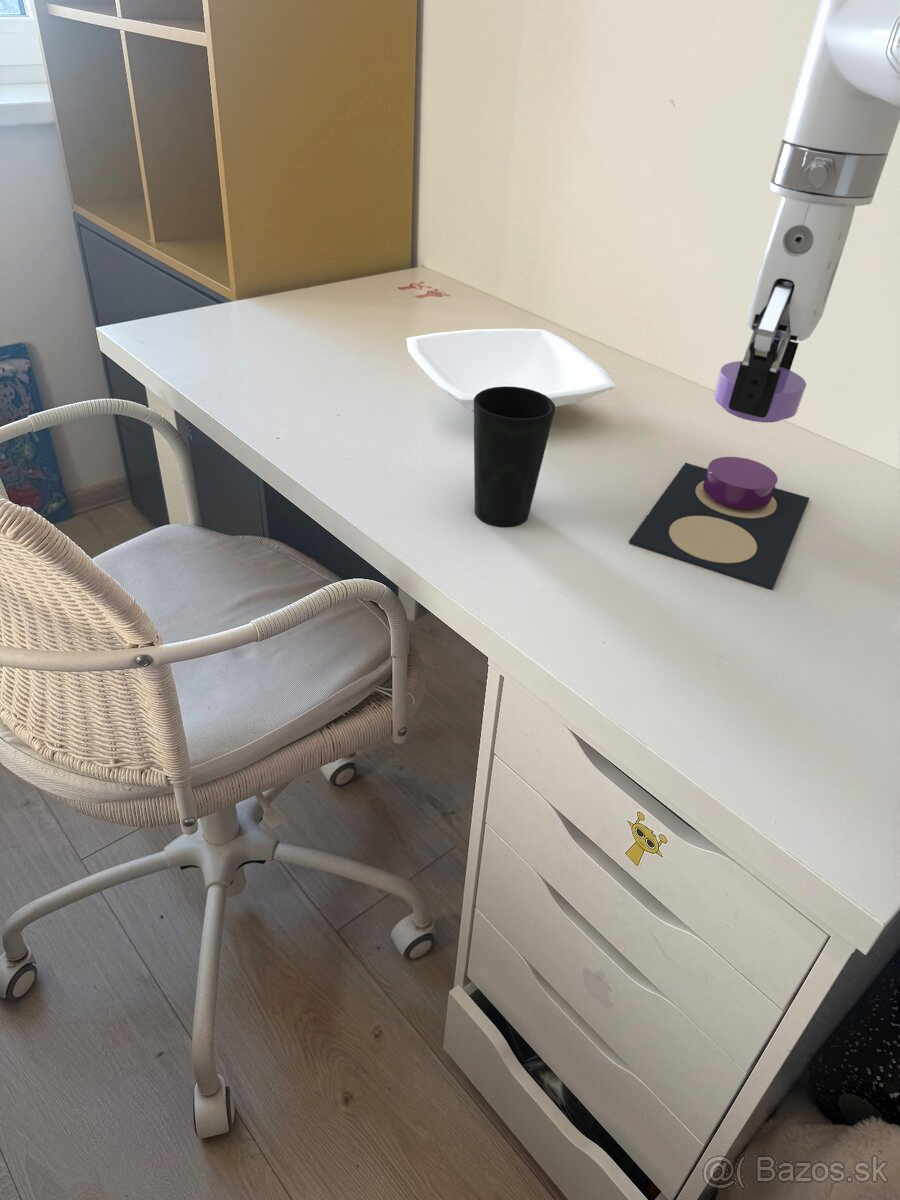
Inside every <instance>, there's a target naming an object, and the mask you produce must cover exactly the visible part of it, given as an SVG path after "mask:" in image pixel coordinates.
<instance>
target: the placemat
mask: <svg viewBox="0 0 900 1200" xmlns="http://www.w3.org/2000/svg"><path fill="white" fill-rule="evenodd" d="M707 469H708V468H707V467H702V466H699V465H695V464H691V463H688V462H685V463H684V464H683V465H682V467H681V468H680V469H679V471H678V472H677V473H676V475H675V477H674V478H673V479H672V480H671V481H670V483H669V484H668V486H667V487H666V489H665V490H664V492H662V494H661V496H659V498H658V500H657V501H656V503H655V504H654V505H653V506H652V508H651V510H650V511H649V512H648V513H647V515H646V517H644V519H643V520H642V522H641V523H640V525H639V526H638V528H637V529H636V530H635V532H634V533H633V534H632V536H631V537H630V539H629V540H628V544H629V545H633V546H635V547H639V548H643V549H645V550H648V551H651V552H654V553H658V554H660V555H664V556H667V557H670V558H673V559H676V560H679V561H683V562H685V563H689V564H692V565H694V566H698V567H700V568H703V569H707V570H710V571H713V572H716V573H719V574H722V575H725V576H729V577H732V578H734V579H738V580H741V581H744V582H747V583H750V584H753V585H756V586H759V587H762V588H765V589H769V590H772V591H773V590H774V587H775V584H776V582H777V580H778V578H779V575H780V573H781V570H782V568H783V565H784V563H785V560H786V557H787V556H788V553H789V551H790V548H791V545H792V543H793V540H794V539H795V536H796V532H797V530H798V528H799V525H800V523H801V520H802V518H803V515H804V513H805V510H806V508H807V506H808V503H809V501H810V497H808V496H805V495H801V494H797V493H794V492H790V491H788V490H783V489H780V488H777V487H775V490H774V493H773V496H772V499H771V501H770V503H769V504H768V505H766V506H764V507H761V508H755V509H750V510H740V509H734V508H730V507H727V506H724V505H722V504H720V503H718V502H716V501H715V500H714V499H713V498H712V497H710V496H709V495H708V494H707V493H706V492H705V490H704V488H703V483H704V479H705V476H706V472H707Z"/></svg>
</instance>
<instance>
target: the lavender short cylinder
mask: <svg viewBox="0 0 900 1200" xmlns="http://www.w3.org/2000/svg"><path fill="white" fill-rule="evenodd" d="M741 362H743V360H739V361H731V362H728V363H726V364H723V365H722V366H721V367H720V371H719V374H718V377H717V382H716V384H715V388H714V392H713V399H714V401H715V402H716V403H717V404H718V405H719V406H720V407H721V408H722V409H723V410H725V412H727V413H729V414H731V415H732V416H734V417H737V418H740V419H742V420H746V421H750V422H755V423H767V424H769V423H777V422H780V421H782V420H788V419H790V418H793V417H794V416H796V415H797V413H798V411H799V408H800V405H801V402H802V399H803V396H804V393H805V391H806V388H807V383H806V380H805V379H804V378H803V377H802V376H801V375H799V374H798V373H796V372H794V371H792V370H791V369H790V370H788V369H785V368H782V367H779V368H778V370H780V371H781V374H780V377H779V380H778V383H777V386H776V390H775V393H774V396H773V399H772V402H771V405H770V408H769V412H768V414H767V415H766V416H765V417H763V418H761V417H757V416H753V415H749V414H745V413H741V412H737V411H734V410H731V409H730V408H729V402H730V399H731V395H732V392H733V388H734V385H735V381H736V378H737V374H738V371H739V367H740V364H741Z"/></svg>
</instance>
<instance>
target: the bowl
mask: <svg viewBox="0 0 900 1200" xmlns="http://www.w3.org/2000/svg"><path fill="white" fill-rule="evenodd" d="M406 343H407V344H406V345H407V351H408V353H409V355H411V357H412V358H413V359H414V361H415V362H416V364H418V365H419V367H420V368H421V369H422V371H423V372H424V373H425V374H426V375H427V376H428V377H429V378H430V380H431V381H432V382H433V383H434V384H435V385H436V386H437V387H438V388H439V389H440V390H442V391H443V392H444V393H445V394H447V395H448V396H450V397H451V398H452V399H454V401H456V402H458V403H459V404H461V405H462V406H464V407H466V408H467V409H468V410H470V411H473V412H474V398H475V396H476V395H477V394H478V393H480V392H481V391H483V390H486V389H489V388H494V387H504V386H505V387H520V388H526V389H530V390H533V391H537V392H539V393H541V394H543V395H546V396H547V397H548V398H550V399H551V400H552V402H553V403H554V404H555V408H556V407H562V406H567V405H570V404H575V403H579V402H582V401H585V400H587V399H590V398H593V397H596V396H598V395H600V394H603V393H605V392H608V391H611V390H613V389H615V388H616V384H615V382H614V380H613V379H612V378H611V376H610V375H609V373H608V371H607V370H605V369H604V368H603V367H601V366H600V365H599V364H598V363H597V362H596V361H594V360H593V359H591V358H590V357H589V356H588V355H586V354H585V353H584V352H582V351H581V350H580V349H579V348H577V347H576V346H575V345H574V344H572V343H570V342H569V341H568V340H567V339H565V338H563V337H560V336H558V335H557V334H555V333H553V332H550V331H549V330H546V329H538V328H484V329H483V328H482V329H481V328H480V329H475V328H474V329H464V330H454V331H444V332H434V333H428V334H423V335H416V336H409V337H407V338H406Z"/></svg>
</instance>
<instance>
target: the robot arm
mask: <svg viewBox="0 0 900 1200" xmlns="http://www.w3.org/2000/svg"><path fill="white" fill-rule="evenodd" d="M796 84H797V85H796V86H795V90H794V94H793V98H792V102H791V106H790V108H789V113H788V116H787V119H786V123H785V127H784V131H783V134H782V139H781V141H780V146H779V149H778V153H777V157H776V159H775V162H774V163H775V164H774V166H773V171H772V173H771V179H770V181H769V186H768V190H769V191H770V192H772V193H774V194H777V195H779V196H781V198H780V201H779V203H778V207H777V211H776V213H775V218H774V221H773V224H772V228H771V231H770V235H769V237H768V241H767V244H766V247H765V251H764V255H763V258H762V260H761V261H762V262H761V266H760V269H759V273H758V276H757V278H756V279H757V280H756V283H755V287H754V291H753V295H752V299H751V303H750V307H749V310H748V316H747V322H746V324H747V326H748V328H749V329H750V330H751V331H752V333H751V337H750V340H749V342H748V345H747V348H746V350H745V353H744V356H743V359H742V361H743V362H741V364H740V367H739V371H738V374H737V378H736V381H735V385H734V388H733V392H732V395H731V399H730V402H729V408H730V409H731V410H734V411H737V412H741V413H745V414H749V415H753V416H757V417H761V418H763V417H765V416H766V415H767V414H768V412H769V408H770V405H771V402H772V399H773V396H774V393H775V390H776V386H777V383H778V380H779V377H780V374H781V371H780V370H778V368H779V367H782V368H785V369H788V370H790V371H791V369H792V366H793V362H794V359H795V356H796V353H797V350H798V348H799V345H800V344H799V342H803V341H805V340H807V339H808V338H810V337H811V336H812V334H813V332H814V331H815V329H816V328H817V326H818V324H819V322H820V320H821V318H822V317H823V315H824V312H825V310H826V309H825V308H826V305H827V301H828V298H829V297H830V296H829V295H830V292H831V289H832V286H833V282H834V280H835V276H836V273H837V270H838V268H839V264H840V261H841V258H842V256H843V252H844V249H845V245H846V242H847V239H848V236H849V232H850V229H851V225H852V221H853V219H854V214H855V211H856V207H860V206H861V207H862V206H867V205H871V204H872V202H873V200H874V197H875V194H876V190H877V188H878V185H879V182H880V180H881V177H882V173H883V170H884V168H885V164H886V161H887V159H888V156H889V152H890V150H891V147H892V144H893V141H894V138H895V135H896V132H897V130H898V126H899V123H900V0H819V2H818V5H817V9H816V13H815V16H814V19H813V24H812V28H811V32H810V35H809V40H808V42H807V47H806V51H805V53H804V58H803V61H802V65H801V68H800V72H799V76H798V80H797V83H796ZM797 341H799V342H797Z"/></svg>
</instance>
